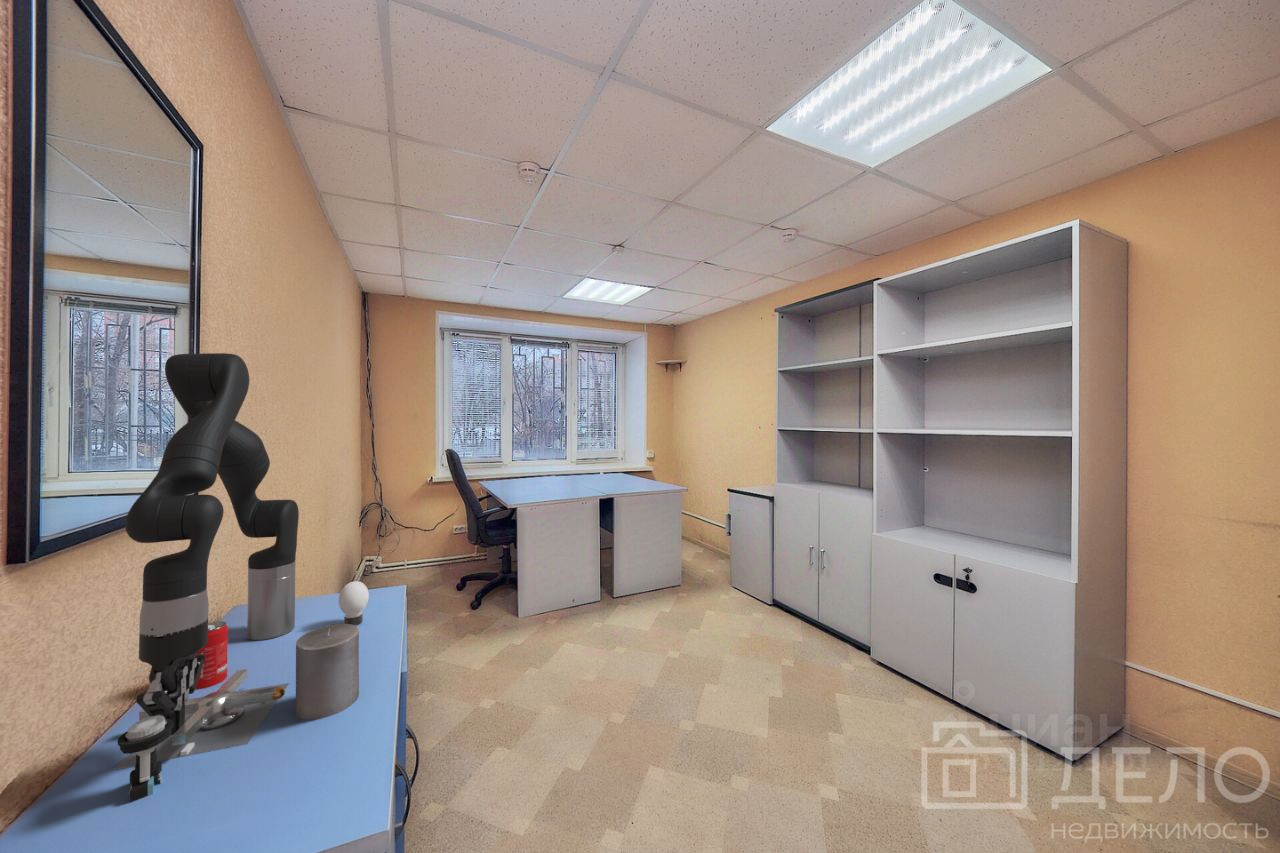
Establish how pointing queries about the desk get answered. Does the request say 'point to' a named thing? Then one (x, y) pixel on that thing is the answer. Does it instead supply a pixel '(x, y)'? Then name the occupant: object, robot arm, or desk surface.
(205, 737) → the stand
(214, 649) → the beverage can
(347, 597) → the light bulb
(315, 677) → the pillar candle
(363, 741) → the desk surface
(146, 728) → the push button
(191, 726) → the capstan
